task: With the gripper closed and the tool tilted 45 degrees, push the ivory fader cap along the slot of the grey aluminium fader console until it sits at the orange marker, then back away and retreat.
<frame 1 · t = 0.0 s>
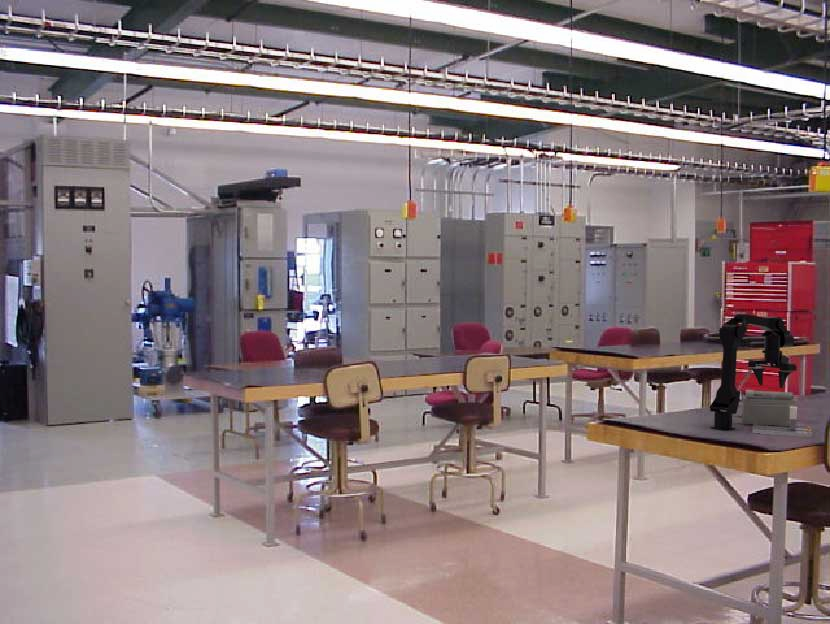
hand: (771, 386, 342), 15 cm above the table, tool pointing down, fingers open, 9 cm apart
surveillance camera: (787, 423, 345), on the table
fader console: (792, 434, 318), on the table
fader cap: (793, 418, 318), point 6 cm above the table, slide at 0.0 cm
geiger counter: (761, 424, 339), on the table
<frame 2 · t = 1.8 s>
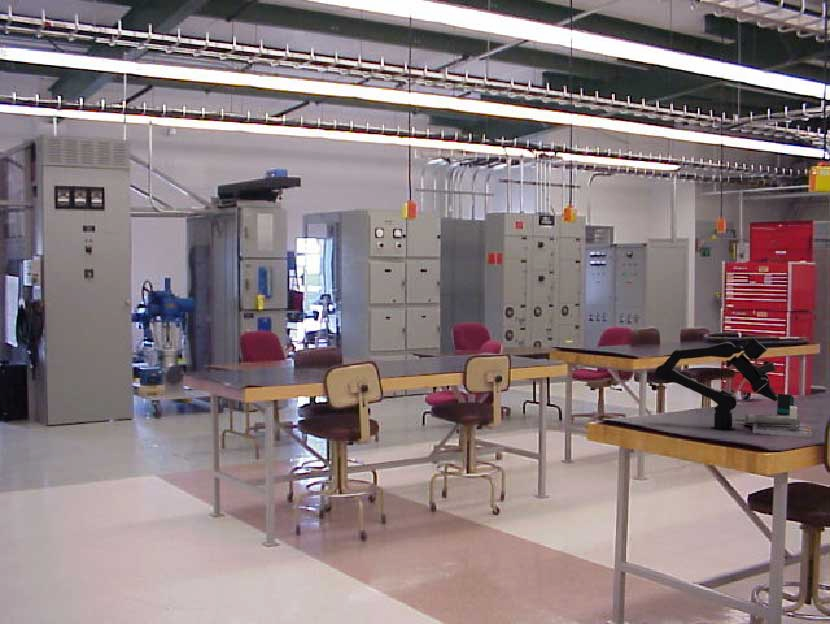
hand: (776, 399, 320), 13 cm above the table, tool tilted 45°, fingers open, 6 cm apart
geiger counter: (762, 422, 338), point 1 cm above the table, touching fader console
everything else where it was.
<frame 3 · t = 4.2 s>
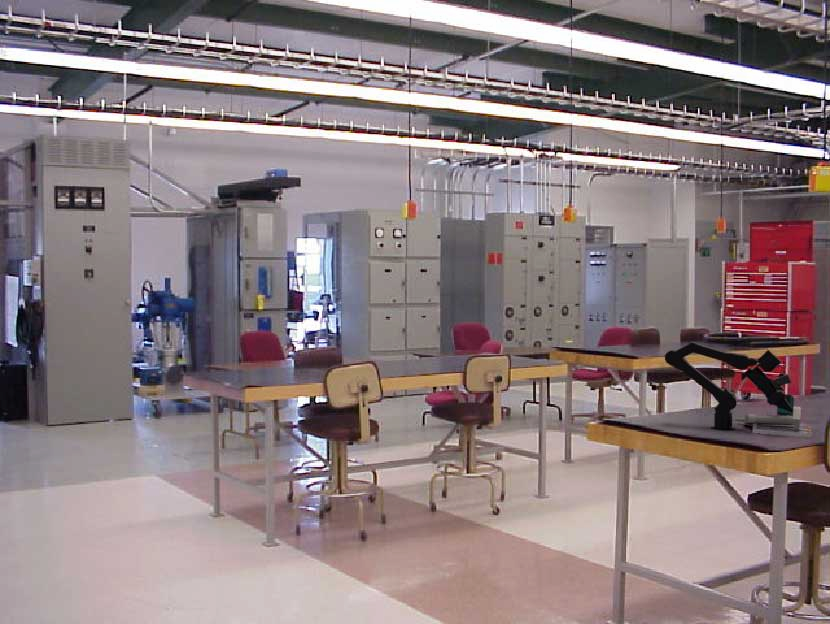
hand: (792, 411, 318), 8 cm above the table, tool tilted 45°, fingers closed, pressing on fader cap
fader cap: (796, 418, 317), point 6 cm above the table, slide at 1.2 cm, touching gripper
everything else where it was.
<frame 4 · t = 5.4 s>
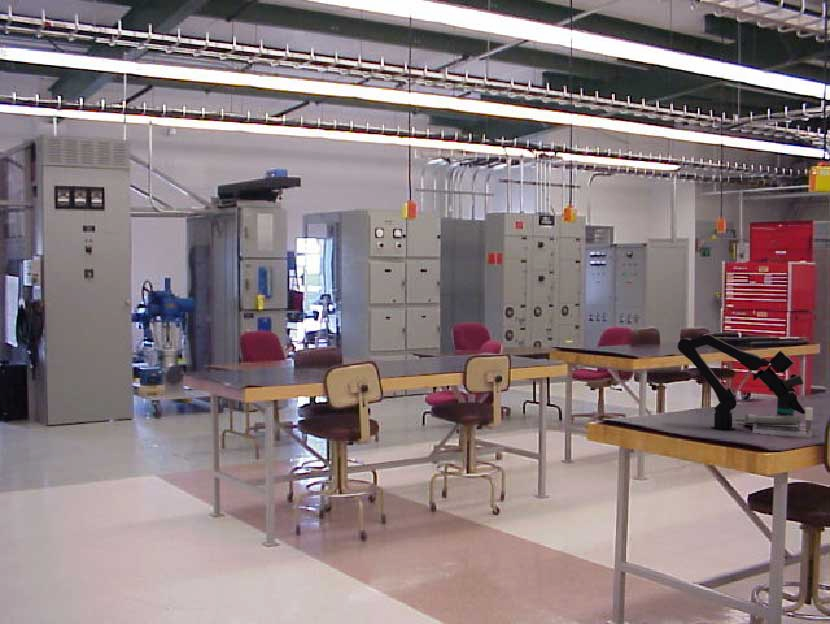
hand: (804, 413, 316), 8 cm above the table, tool tilted 45°, fingers closed, pressing on fader cap
fader cap: (808, 419, 316), point 6 cm above the table, slide at 5.2 cm, touching gripper
everything else where it was.
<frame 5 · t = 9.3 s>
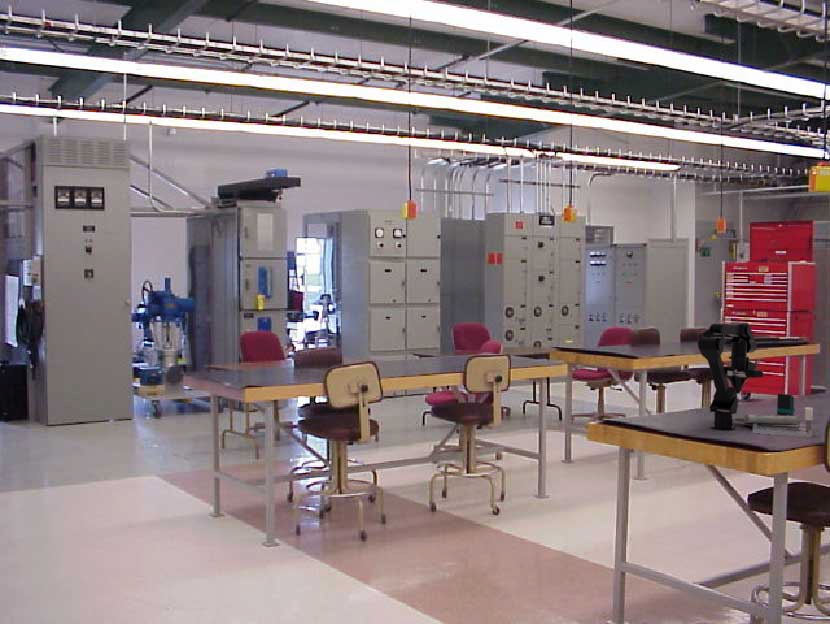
hand: (737, 393, 336), 12 cm above the table, tool pointing down, fingers closed
fader cap: (808, 419, 316), point 6 cm above the table, slide at 5.2 cm
everything else where it was.
at the end: fader cap slide at 5.2 cm; fader cap moved 5.2 cm from its start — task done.
